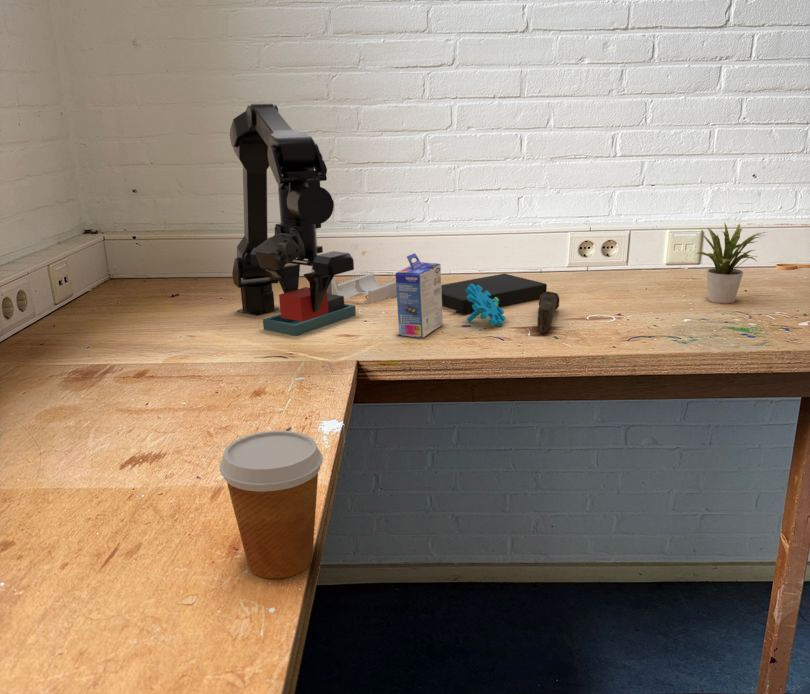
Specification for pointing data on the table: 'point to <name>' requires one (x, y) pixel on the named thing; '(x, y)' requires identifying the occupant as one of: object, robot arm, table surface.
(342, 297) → the dark grey block
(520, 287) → the external hard drive
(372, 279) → the skate ramp
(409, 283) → the ink cartridge box
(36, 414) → the table surface
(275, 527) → the disposable coffee cup
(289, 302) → the red rectangular block
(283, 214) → the robot arm
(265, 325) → the tray
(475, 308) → the blue coral piece
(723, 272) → the house plant
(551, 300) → the hand tool
